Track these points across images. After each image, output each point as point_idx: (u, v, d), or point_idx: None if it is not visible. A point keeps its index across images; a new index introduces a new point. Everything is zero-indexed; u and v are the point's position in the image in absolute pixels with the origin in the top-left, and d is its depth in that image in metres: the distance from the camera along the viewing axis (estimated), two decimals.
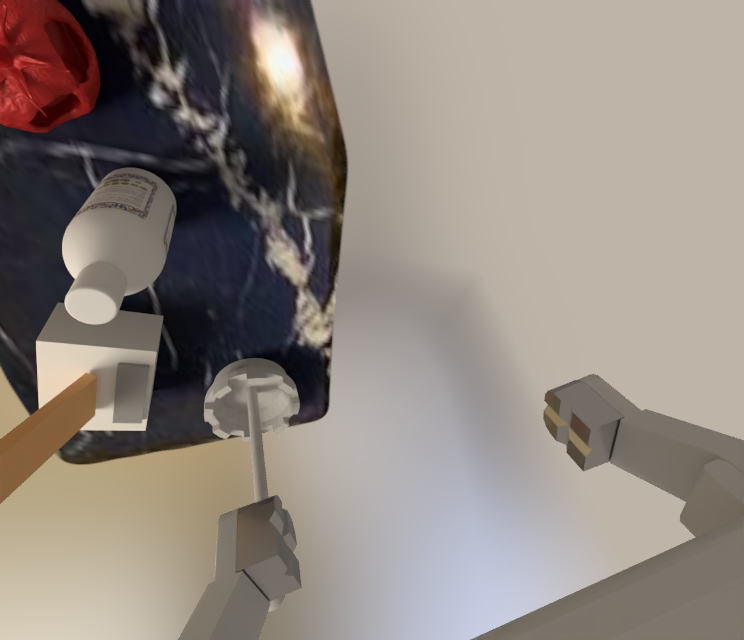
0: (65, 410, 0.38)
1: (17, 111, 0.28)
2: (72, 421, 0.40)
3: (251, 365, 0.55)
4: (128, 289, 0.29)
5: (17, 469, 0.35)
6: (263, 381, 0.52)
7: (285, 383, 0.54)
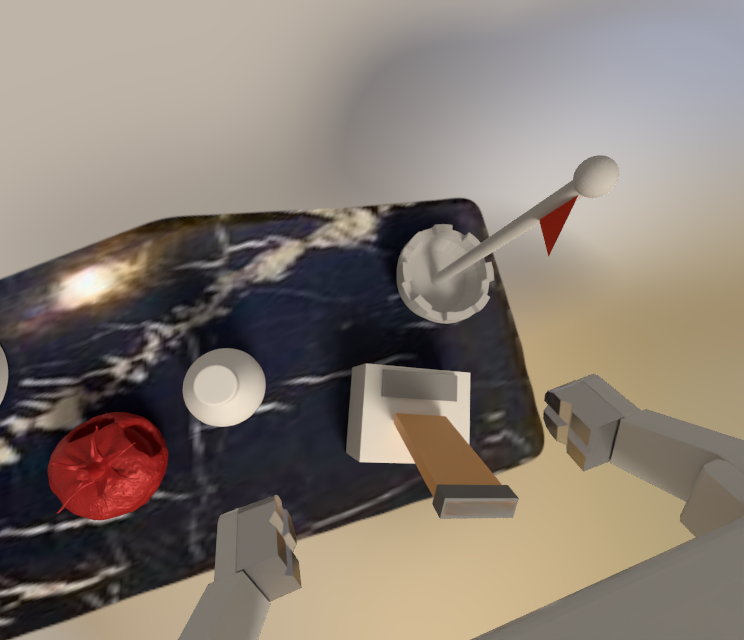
0: (417, 434, 0.39)
1: (139, 462, 0.36)
2: (437, 430, 0.40)
3: None
4: (233, 367, 0.31)
5: (463, 467, 0.34)
6: (407, 264, 0.49)
7: (409, 242, 0.50)
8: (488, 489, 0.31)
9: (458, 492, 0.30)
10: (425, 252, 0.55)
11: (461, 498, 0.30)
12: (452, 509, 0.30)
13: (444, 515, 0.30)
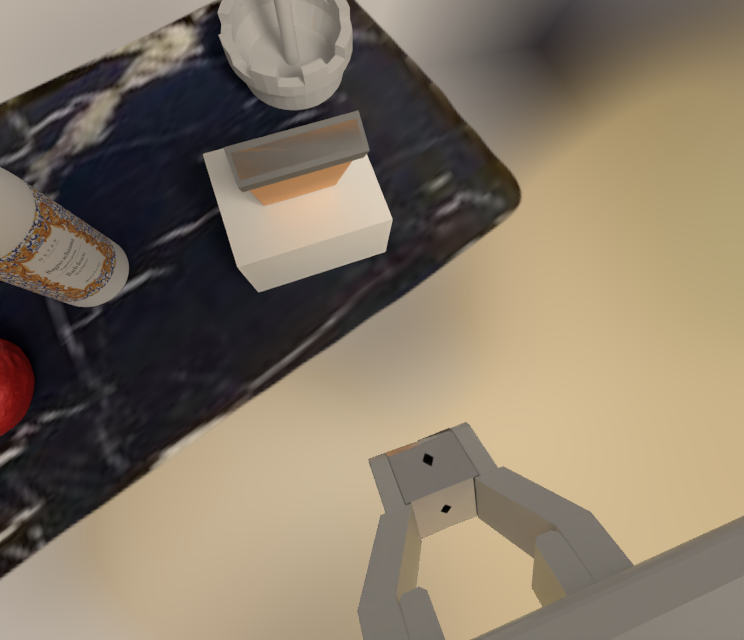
0: None
1: None
2: None
3: None
4: None
5: None
6: (225, 35, 0.37)
7: (219, 10, 0.38)
8: None
9: None
10: (266, 34, 0.42)
11: (254, 141, 0.18)
12: (250, 164, 0.18)
13: (242, 180, 0.18)
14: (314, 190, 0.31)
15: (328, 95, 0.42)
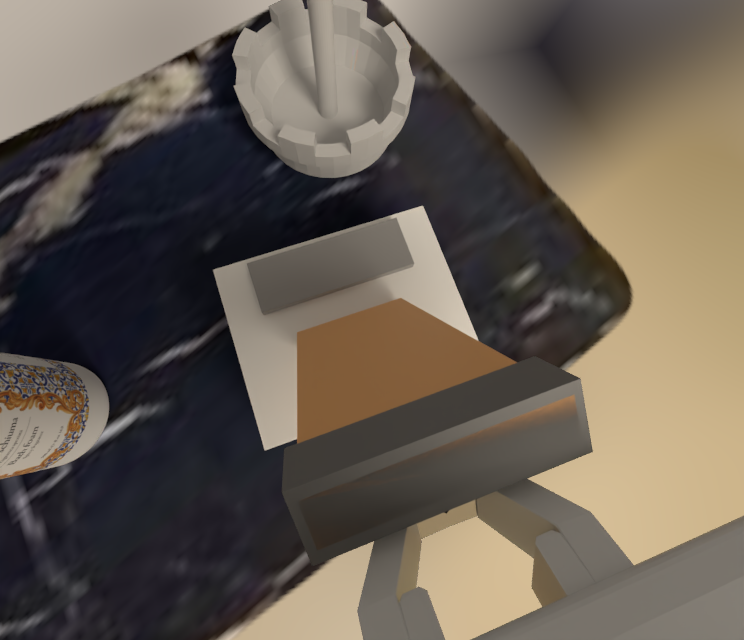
0: (321, 346, 0.17)
1: None
2: (372, 323, 0.18)
3: None
4: None
5: (406, 368, 0.12)
6: (243, 86, 0.27)
7: (234, 51, 0.28)
8: (466, 394, 0.09)
9: (348, 446, 0.08)
10: (293, 77, 0.32)
11: (353, 466, 0.08)
12: (341, 516, 0.08)
13: (323, 549, 0.08)
14: None
15: (375, 158, 0.32)
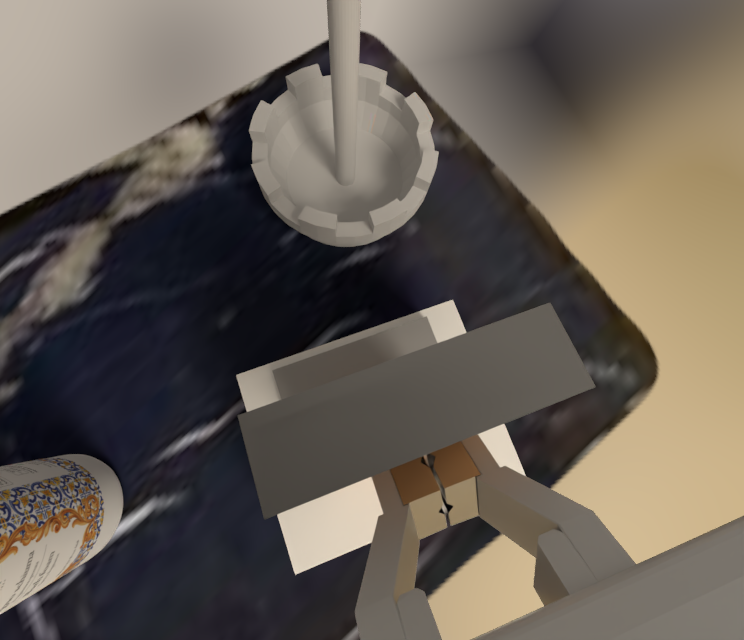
0: None
1: None
2: None
3: None
4: None
5: None
6: (260, 165, 0.26)
7: (251, 126, 0.26)
8: None
9: None
10: (309, 141, 0.31)
11: (314, 392, 0.07)
12: (300, 451, 0.07)
13: (278, 495, 0.07)
14: None
15: None
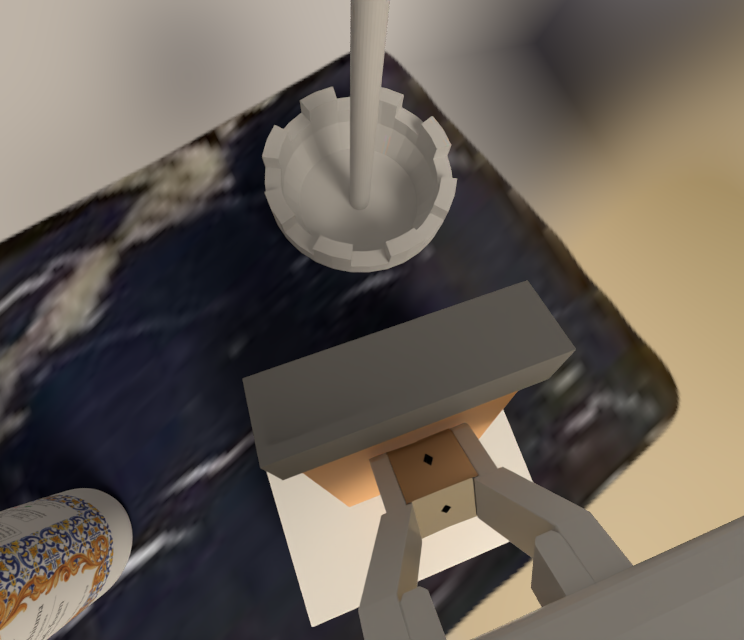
0: None
1: None
2: None
3: None
4: None
5: None
6: (274, 192, 0.25)
7: (264, 152, 0.26)
8: None
9: None
10: (321, 163, 0.30)
11: (312, 359, 0.08)
12: (296, 408, 0.07)
13: (274, 447, 0.07)
14: None
15: None
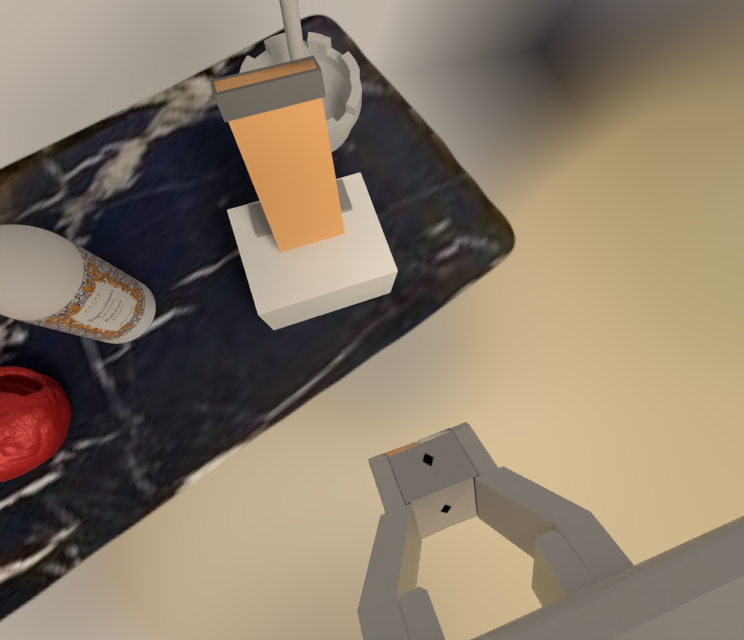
0: None
1: (9, 403, 0.32)
2: None
3: None
4: None
5: None
6: None
7: None
8: None
9: None
10: None
11: (234, 76, 0.23)
12: (226, 84, 0.23)
13: (218, 92, 0.22)
14: (324, 234, 0.34)
15: (338, 145, 0.45)
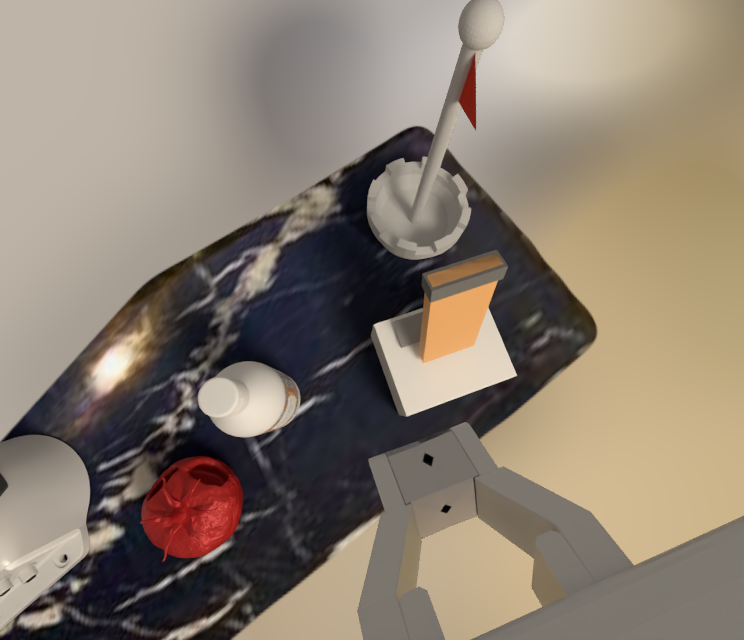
0: None
1: (212, 494, 0.39)
2: None
3: None
4: (237, 377, 0.32)
5: None
6: (375, 216, 0.48)
7: (368, 194, 0.48)
8: None
9: None
10: (392, 197, 0.53)
11: (439, 269, 0.30)
12: (437, 279, 0.30)
13: (434, 287, 0.29)
14: (459, 348, 0.41)
15: None
